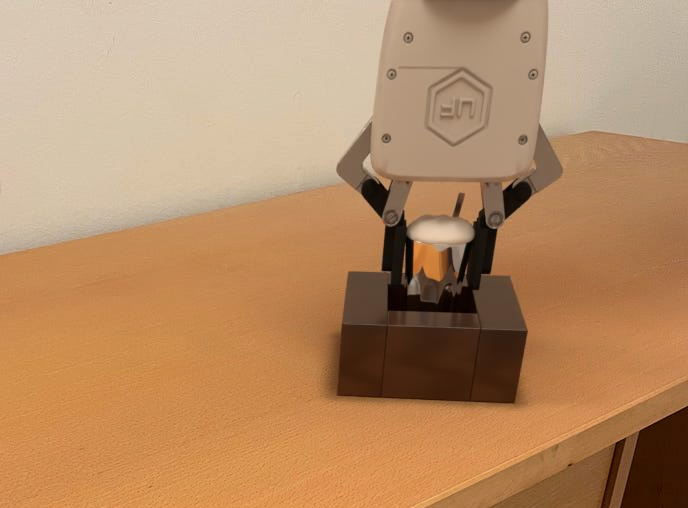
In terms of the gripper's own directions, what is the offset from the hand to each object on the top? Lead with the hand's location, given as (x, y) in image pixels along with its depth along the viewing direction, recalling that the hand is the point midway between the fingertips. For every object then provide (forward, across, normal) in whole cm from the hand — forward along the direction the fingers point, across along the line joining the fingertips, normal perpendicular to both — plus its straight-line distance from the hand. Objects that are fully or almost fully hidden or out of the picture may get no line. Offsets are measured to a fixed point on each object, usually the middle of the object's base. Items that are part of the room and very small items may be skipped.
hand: (434, 280), depth 68 cm
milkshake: (+5, 0, 0) cm, 5 cm away
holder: (+6, 0, 0) cm, 6 cm away
